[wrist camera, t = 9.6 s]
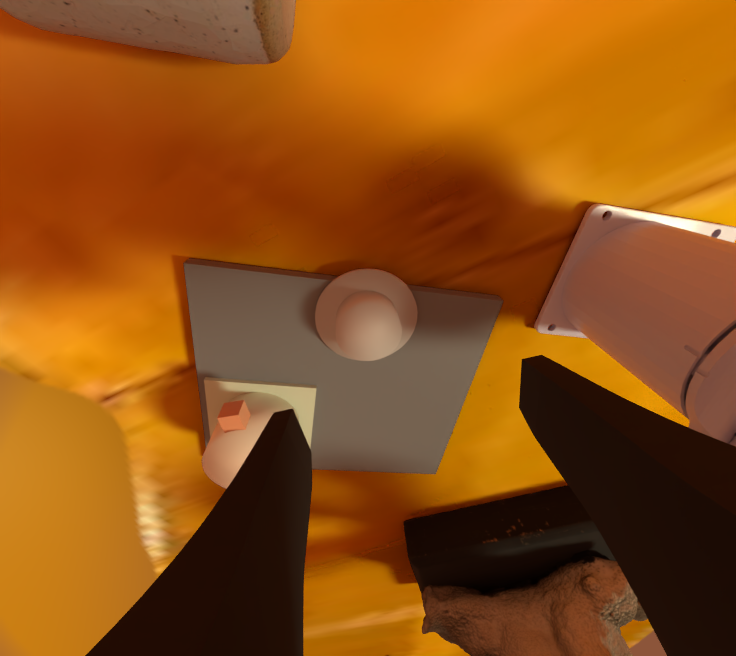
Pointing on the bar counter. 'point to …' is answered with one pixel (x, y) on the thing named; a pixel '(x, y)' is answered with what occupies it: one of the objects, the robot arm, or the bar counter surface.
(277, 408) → the domed cylinder with nub
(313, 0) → the bar counter surface
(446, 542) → the driftwood sculpture
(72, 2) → the ceramic mug
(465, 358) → the board
